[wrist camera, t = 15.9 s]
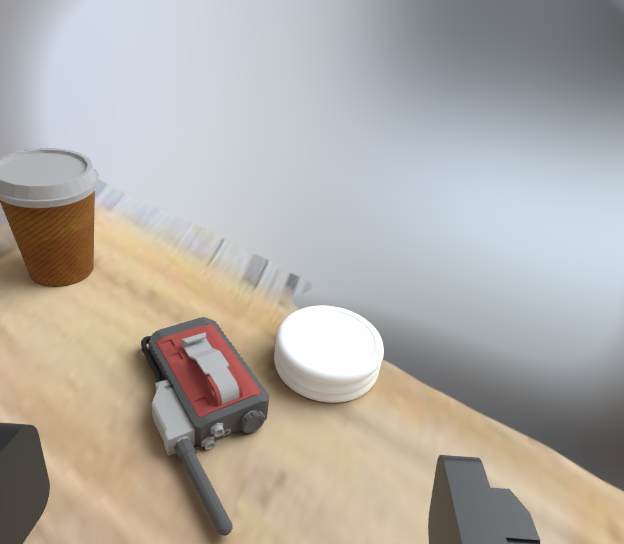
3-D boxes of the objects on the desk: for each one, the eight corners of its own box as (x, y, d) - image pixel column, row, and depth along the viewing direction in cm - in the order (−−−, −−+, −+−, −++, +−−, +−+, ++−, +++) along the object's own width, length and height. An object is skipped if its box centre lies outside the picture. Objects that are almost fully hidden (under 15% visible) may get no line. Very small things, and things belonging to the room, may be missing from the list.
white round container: (277, 325, 53) (280, 298, 51) (373, 334, 54) (379, 308, 52) (269, 400, 45) (272, 371, 43) (382, 410, 46) (390, 383, 44)
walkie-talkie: (119, 358, 47) (212, 552, 34) (114, 321, 45) (213, 515, 32) (209, 330, 52) (321, 493, 39) (209, 295, 49) (329, 456, 36)
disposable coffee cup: (21, 306, 51) (-6, 195, 44) (4, 256, 57) (-22, 152, 50) (120, 282, 56) (109, 179, 49) (95, 238, 62) (82, 142, 55)
